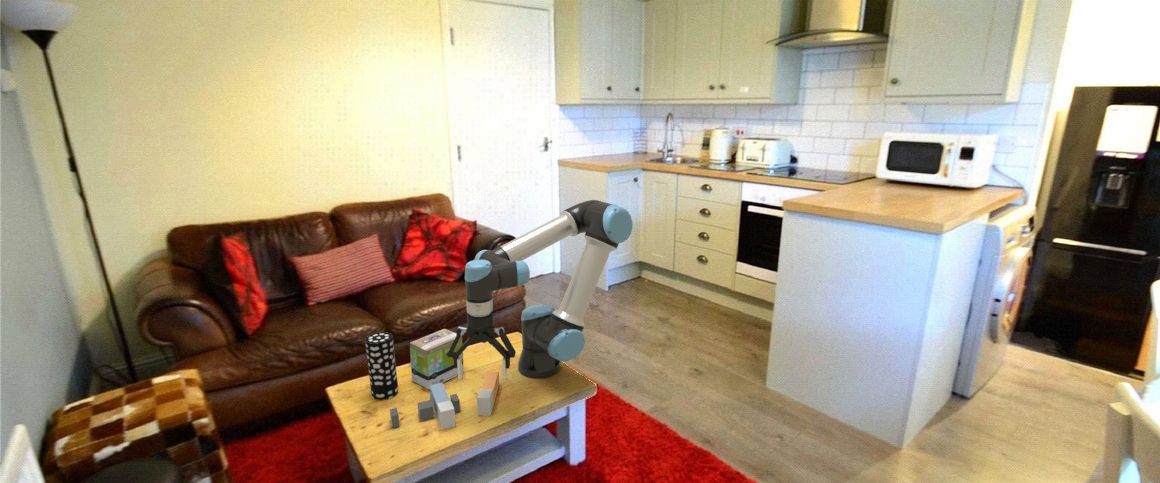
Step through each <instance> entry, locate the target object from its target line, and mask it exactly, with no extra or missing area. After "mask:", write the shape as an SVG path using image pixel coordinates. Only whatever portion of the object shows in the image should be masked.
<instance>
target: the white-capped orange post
mask: <svg viewBox="0 0 1160 483" xmlns="http://www.w3.org/2000/svg"><path fill="white" fill-rule="evenodd" d="M499 387H500V374H499V370H486V373H485V375H484V379H483V381H482V385H481V387H480V388H479V391H478V393H477V396H476V405H477V406H476V407H477V409H476V410H477V416H492V413H493V409H494V406H495V401H496V397H497V393H498V390H499Z"/></svg>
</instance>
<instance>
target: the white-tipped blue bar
mask: <svg viewBox="0 0 1160 483" xmlns="http://www.w3.org/2000/svg"><path fill="white" fill-rule="evenodd" d="M429 393H430V400H431V402H432V405H433V410H434V411H435V412H434V413H435V415H436V418H437V421H438V423H439V426H440V428H441V430H442V431H444V430H447V429H452V428H455V427H456V415H455V414H456V413H455V412H454V407H453V405H452V402H451V399H450V398H449V397H450V396H449V395H448V392H447V391H446V387H445V386H444V382H443V383H438V384H434V385H430V390H429Z"/></svg>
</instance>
